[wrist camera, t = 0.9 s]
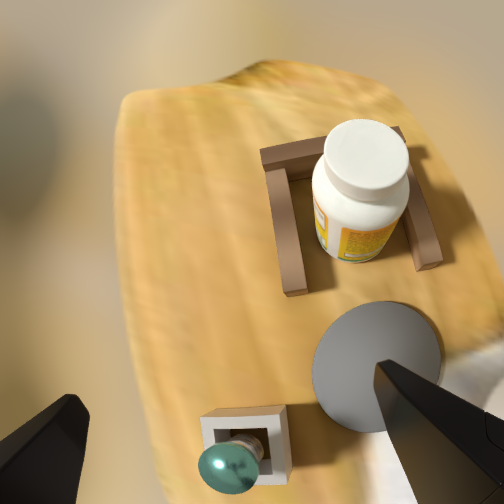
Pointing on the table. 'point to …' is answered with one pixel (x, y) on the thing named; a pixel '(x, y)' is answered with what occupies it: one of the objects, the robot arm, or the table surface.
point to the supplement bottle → (359, 189)
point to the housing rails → (286, 233)
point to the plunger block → (255, 417)
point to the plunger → (232, 464)
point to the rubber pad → (370, 360)
